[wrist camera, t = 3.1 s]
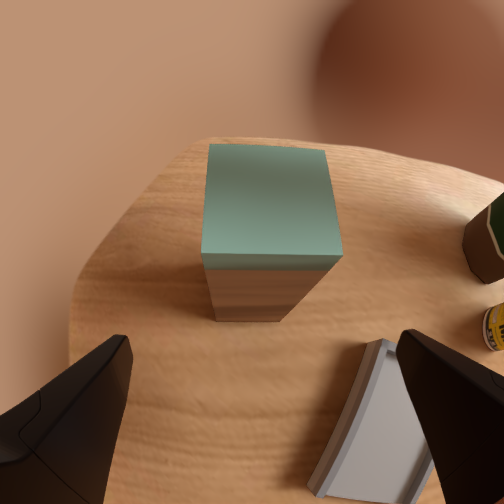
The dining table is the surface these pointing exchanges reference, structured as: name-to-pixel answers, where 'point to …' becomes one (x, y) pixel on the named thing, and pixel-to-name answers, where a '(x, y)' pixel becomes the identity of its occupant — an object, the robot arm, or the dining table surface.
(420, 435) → the tray
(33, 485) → the robot arm
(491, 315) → the supplement bottle
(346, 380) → the dining table surface
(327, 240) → the green-topped wooden block
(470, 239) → the beer bottle
